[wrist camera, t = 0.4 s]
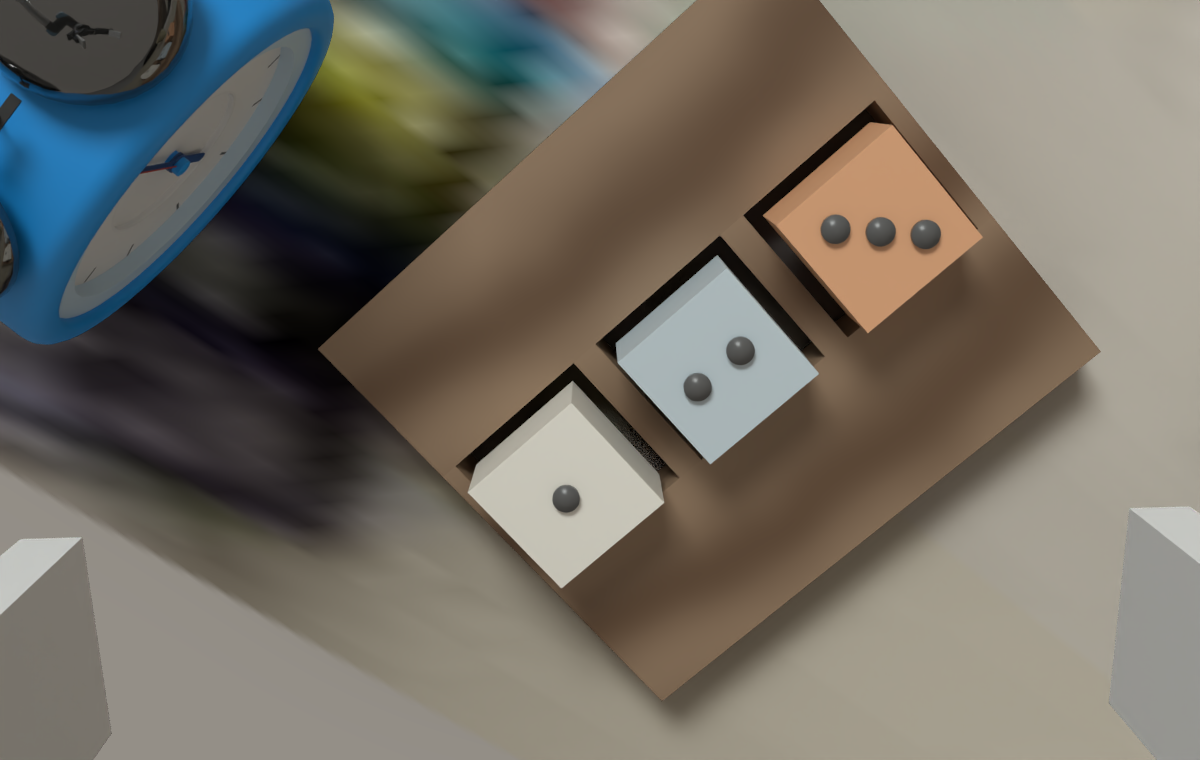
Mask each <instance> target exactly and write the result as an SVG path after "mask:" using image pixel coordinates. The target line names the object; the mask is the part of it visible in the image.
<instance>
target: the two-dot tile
mask: <svg viewBox="0 0 1200 760" xmlns="http://www.w3.org/2000/svg"><path fill="white" fill-rule="evenodd" d="M616 352H617V362H618V364H619V365H620V366H621V367H622V368H623V369H624V370H625V371H626V373H627V374H628V375H629V376H630V377H631V378H632V379H633V380H634V381H635V382H636V384H637V385H638V386H639V387H640V388H641V389H642V390H643V391H644V392H645V393H646V394H647V396H648V397H649V398H650V399H651V400H652V401H653V402H654V403H655V404H656V405H657V407H658V408H659V409H660V410H661V411H662V412H663V413H664V414H665V415H666V416H667V417H668V419H669V420H670V421H671V422H672V423H673V424H674V425H675V426H676V427H677V428H678V430H679V431H680V432H681V433H682V434H683V435H684V436H685V437H686V438H687V439H688V440H689V442H690V443H691V444H692V445H693V446H694V447H695V448H696V449H697V450H698V451H699V453H700V454H701V455H702V456H703V457H704V458H705V459H706V460H707V461H708V462H709V463H710V464H711V463H713V462H714V461H715V460H716V459H717V458H719V457H720V456H721V455H722V454H723V453H725V452H726V451H727V450H728V449H729V448H731V447H732V446H733V445H734V444H735V443H737V442H738V441H739V440H740V439H741V438H743V437H744V436H745V435H746V434H747V433H749V432H750V431H751V430H752V429H753V428H755V427H756V426H757V425H758V424H759V423H761V422H762V421H763V420H764V419H765V418H767V417H768V416H769V415H770V414H771V413H773V412H774V411H775V410H776V409H777V408H779V407H780V406H781V405H782V404H783V403H785V402H786V401H787V400H788V399H789V398H791V397H792V396H793V395H794V394H796V393H797V392H798V391H799V390H800V389H802V388H803V387H804V386H805V385H806V384H808V383H809V382H810V381H811V380H812V379H814V378H815V377H816V376H817V375H818V374H819V373H818V372H817V370H816V369H815V368H814V367H813V365H812V364H811V363H810V362H809V360H808V359H807V358H806V357H805V355H804V354H803V353H802V352H801V351H800V349H799V348H798V347H797V346H796V345H795V344H794V343H793V341H792V340H791V339H790V338H789V337H788V336H787V335H786V333H785V332H784V331H783V330H782V329H781V328H780V326H779V325H778V324H777V323H776V322H775V321H774V320H773V318H772V317H771V316H770V315H769V314H768V313H767V312H766V310H765V309H764V308H763V307H762V306H761V305H760V303H759V302H758V301H757V300H756V299H755V298H754V297H753V295H752V294H751V293H750V292H749V291H748V290H747V289H746V287H745V286H744V285H743V284H742V283H741V282H740V280H739V279H738V278H737V277H736V276H735V275H734V274H733V272H732V271H731V270H730V269H729V268H728V267H727V266H726V264H725V263H724V262H723V261H722V260H721V259H720V257H719V256H718V255H717V256H716V257H714V258H713V259H712V260H711V261H710V262H709V263H708V264H706V265H705V266H704V267H703V268H702V269H701V270H699V271H698V272H697V273H696V274H695V275H694V276H693V277H691V278H690V279H689V280H688V281H687V282H686V283H685V284H683V285H682V286H681V287H680V288H679V289H678V290H676V291H675V292H674V293H673V294H672V295H671V296H670V297H668V298H667V299H666V300H665V301H664V302H663V303H662V304H660V305H659V306H658V307H657V308H656V309H655V310H653V311H652V312H651V313H650V314H649V315H648V316H647V317H645V318H644V319H643V320H642V321H641V322H640V323H639V324H637V325H636V326H635V327H634V328H633V329H632V330H630V331H629V332H628V333H627V334H626V335H625V336H624V337H622V338H621V339H620V340H619V341H618V342H617V343H616Z"/></svg>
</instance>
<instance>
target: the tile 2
mask: <svg viewBox="0 0 1200 760" xmlns="http://www.w3.org/2000/svg"><path fill="white" fill-rule="evenodd" d="M763 216H764V218H765V219H766V220H767V221H768V222H769V223H770V225H771V226H772V227H773V228H774V229H775V231H776V232H777V233H778V234H779V235H780V236H781V238H782V239H783V240H784V241H785V242H786V243H787V245H788V246H789V247H790V248H791V249H792V250H793V252H794V253H795V254H796V255H797V256H798V258H799V259H800V260H801V261H802V262H803V263H804V265H805V266H806V267H807V268H808V269H809V270H810V272H811V273H812V274H813V275H814V276H815V277H816V279H817V280H818V281H819V282H820V283H821V285H822V286H823V287H824V288H825V289H826V290H827V292H828V293H829V294H830V295H831V296H832V297H833V299H834V300H835V301H836V302H837V303H838V304H839V306H840V307H841V308H842V309H843V310H844V311H845V313H846V314H847V315H848V316H849V317H850V318H851V319H852V320H853V321H855V322H856V323H857V324H858V325H859V326H860V327H861V328H863V329H864V330H865V331H866V332H867V333H869V332H870V331H871V330H872V329H874V328H875V327H876V326H877V325H878V324H880V323H881V322H882V321H883V320H884V319H886V318H887V317H888V316H889V315H890V314H892V313H893V312H894V311H895V310H896V309H898V308H899V307H900V306H901V305H902V304H904V303H905V302H906V301H907V300H908V299H910V298H911V297H912V296H913V295H914V294H916V293H917V292H918V291H919V290H920V289H922V288H923V287H924V286H925V285H926V284H928V283H929V282H930V281H931V280H932V279H934V278H935V277H936V276H937V275H938V274H940V273H941V272H942V271H943V270H944V269H946V268H947V267H948V266H949V265H950V264H952V263H953V262H954V261H955V260H956V259H958V258H959V257H960V256H961V255H962V254H964V253H965V252H966V251H967V250H968V249H970V248H971V247H972V246H973V245H974V244H976V243H977V242H978V241H979V240H980V239H982V238H983V237H982V235H981V234H980V233H979V232H978V230H977V229H976V228H975V227H974V225H973V224H972V223H971V222H970V221H969V219H968V218H967V217H966V216H965V214H964V213H963V212H962V211H961V209H960V208H959V207H958V206H957V204H956V203H955V202H954V201H953V199H952V198H951V197H950V196H949V195H948V193H947V192H946V191H945V190H944V188H943V187H942V186H941V185H940V183H939V182H938V181H937V180H936V178H935V177H934V176H933V175H932V173H931V172H930V171H929V170H928V169H927V167H926V166H925V165H924V164H923V162H922V161H921V160H920V159H919V157H918V156H917V155H916V154H915V152H914V151H913V150H912V149H911V147H910V146H909V145H908V144H907V143H906V141H905V140H904V139H903V138H902V136H901V135H900V134H899V133H898V131H897V130H896V129H895V128H894V126H893V125H889V124H880V123H872V122H870V123H868V124H867V125H866V126H865V127H864V128H863V129H862V130H860V131H859V132H858V133H857V134H856V135H855V136H854V137H852V138H851V139H850V140H849V141H848V142H847V143H845V144H844V145H843V146H842V147H841V148H840V149H839V150H837V151H836V152H835V153H834V154H833V155H832V156H831V157H829V158H828V159H827V160H826V161H825V162H824V163H822V164H821V165H820V166H819V167H818V168H817V169H816V170H814V171H813V172H812V173H811V174H810V175H809V176H808V177H806V178H805V179H804V180H803V181H802V182H801V183H799V184H798V185H797V186H796V187H795V188H794V189H793V190H791V191H790V192H789V193H788V194H787V195H786V196H785V197H783V198H782V199H781V200H780V201H779V202H778V203H777V204H775V205H774V206H773V207H772V208H771V209H770V210H768V211H767V212H766V213H765V214H764V215H763Z"/></svg>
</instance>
